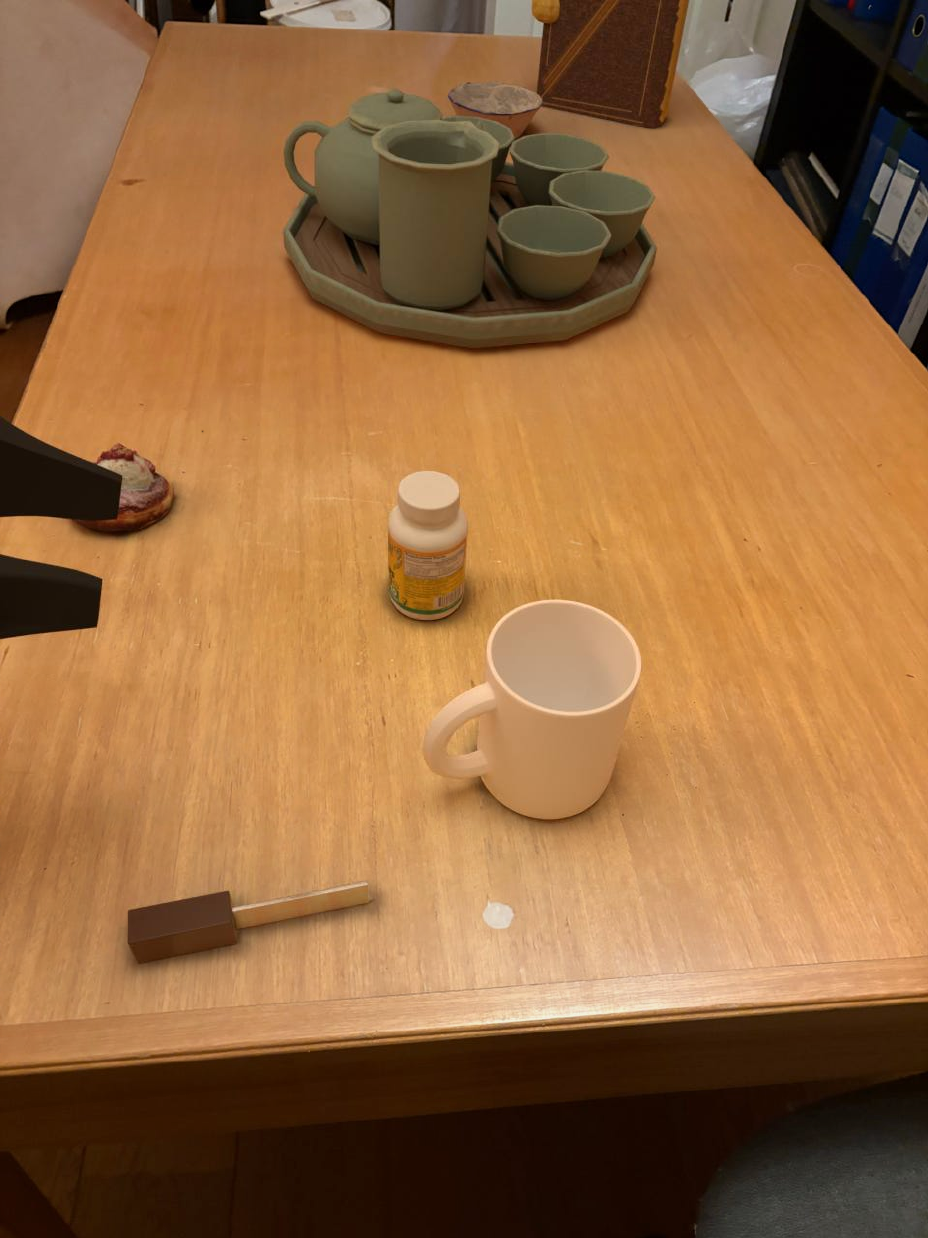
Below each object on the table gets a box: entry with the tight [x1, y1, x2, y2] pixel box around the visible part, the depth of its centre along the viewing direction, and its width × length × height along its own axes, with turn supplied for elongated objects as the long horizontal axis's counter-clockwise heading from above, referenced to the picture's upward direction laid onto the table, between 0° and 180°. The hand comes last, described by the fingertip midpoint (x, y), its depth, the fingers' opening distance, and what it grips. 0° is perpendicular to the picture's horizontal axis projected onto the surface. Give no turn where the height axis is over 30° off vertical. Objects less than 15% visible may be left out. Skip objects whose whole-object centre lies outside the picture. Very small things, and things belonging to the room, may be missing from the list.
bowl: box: [447, 81, 543, 140], centre depth 129 cm, size 13×13×5 cm
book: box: [531, 0, 690, 129], centre depth 131 cm, size 22×8×25 cm, turn 65°
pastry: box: [72, 442, 174, 532], centre depth 70 cm, size 8×8×5 cm
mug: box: [422, 599, 642, 820], centre depth 52 cm, size 12×8×10 cm
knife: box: [127, 880, 370, 964], centre depth 48 cm, size 12×2×2 cm, turn 104°
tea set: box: [282, 88, 658, 349], centre depth 97 cm, size 40×40×16 cm
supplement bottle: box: [387, 470, 469, 621], centre depth 63 cm, size 5×5×10 cm
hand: (111, 546), depth 39 cm, fingers open, 7 cm apart
